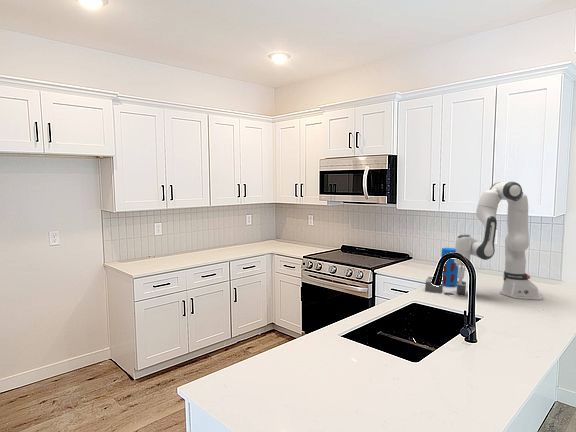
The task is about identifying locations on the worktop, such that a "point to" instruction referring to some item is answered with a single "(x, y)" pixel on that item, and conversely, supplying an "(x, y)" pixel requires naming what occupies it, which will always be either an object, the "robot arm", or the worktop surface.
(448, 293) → the lens cap
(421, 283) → the worktop surface
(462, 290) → the lens
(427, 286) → the camera body
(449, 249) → the blue red-spotted block
